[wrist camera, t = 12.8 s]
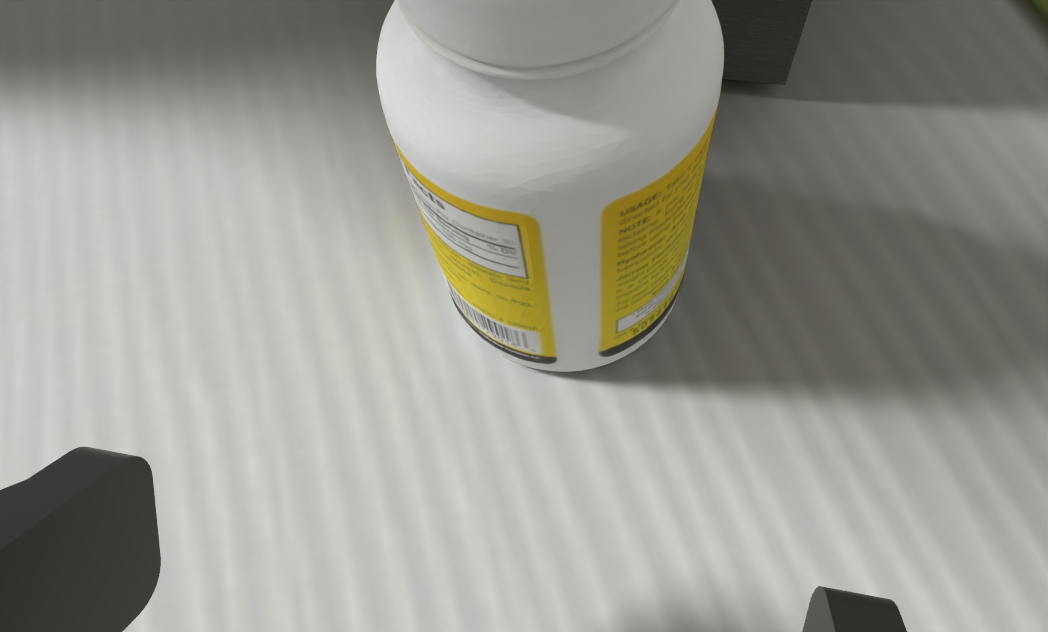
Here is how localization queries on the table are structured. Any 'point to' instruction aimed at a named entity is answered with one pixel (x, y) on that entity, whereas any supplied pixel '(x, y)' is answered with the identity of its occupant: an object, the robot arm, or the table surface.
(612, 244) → the supplement bottle
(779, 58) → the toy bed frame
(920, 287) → the table surface
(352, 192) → the table surface
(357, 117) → the table surface
